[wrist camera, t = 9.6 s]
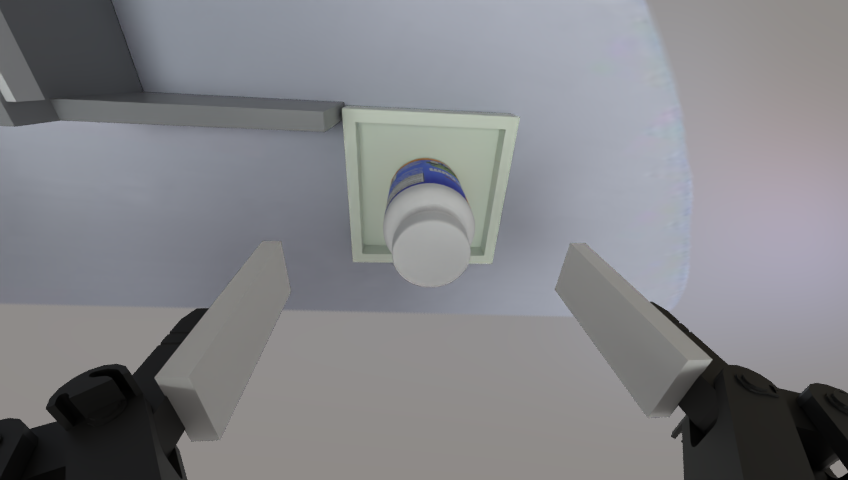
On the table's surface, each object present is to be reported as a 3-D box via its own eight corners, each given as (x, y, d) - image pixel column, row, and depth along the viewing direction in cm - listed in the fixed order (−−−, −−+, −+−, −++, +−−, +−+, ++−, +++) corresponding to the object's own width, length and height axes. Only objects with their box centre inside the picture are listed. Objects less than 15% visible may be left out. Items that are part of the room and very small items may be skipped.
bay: (133, 107, 20) (-11, 125, 13) (53, -104, 16) (-236, -250, 9) (344, 117, 21) (315, 139, 14) (331, -79, 17) (276, -190, 10)
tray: (356, 249, 26) (352, 262, 25) (347, 105, 21) (341, 108, 19) (486, 251, 27) (491, 264, 26) (510, 113, 22) (519, 117, 20)
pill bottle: (472, 195, 24) (508, 262, 15) (419, 234, 25) (425, 314, 17) (430, 139, 22) (444, 182, 13) (374, 185, 23) (355, 250, 15)
